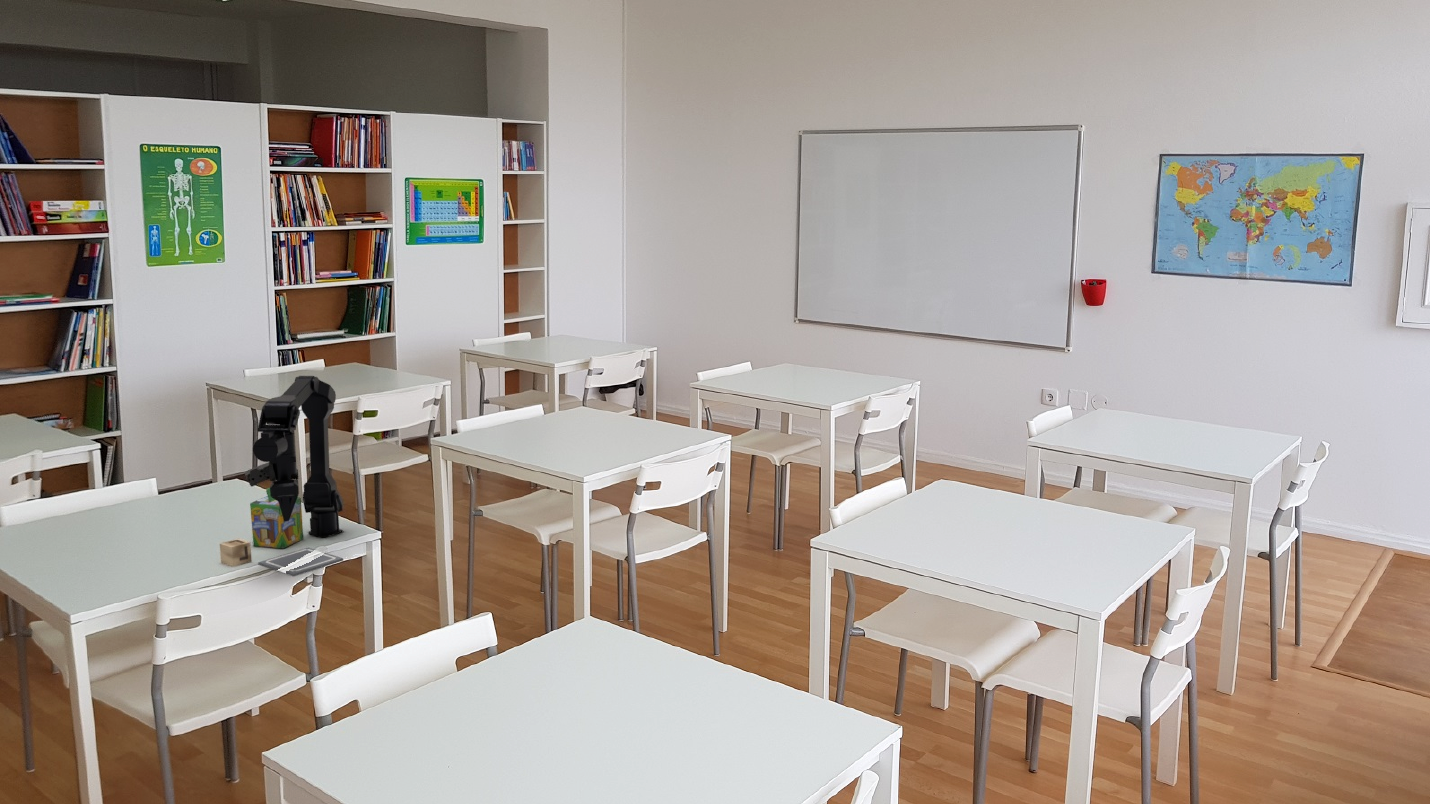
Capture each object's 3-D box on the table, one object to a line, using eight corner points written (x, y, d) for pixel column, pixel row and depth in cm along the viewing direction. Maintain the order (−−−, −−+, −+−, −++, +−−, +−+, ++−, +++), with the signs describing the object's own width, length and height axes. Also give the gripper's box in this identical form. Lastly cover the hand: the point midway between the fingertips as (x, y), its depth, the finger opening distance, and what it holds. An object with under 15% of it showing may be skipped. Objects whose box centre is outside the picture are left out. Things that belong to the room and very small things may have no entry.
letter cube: (240, 557, 274) (238, 538, 273) (252, 561, 271) (250, 541, 270) (221, 563, 270) (219, 543, 269) (233, 567, 267) (231, 547, 266)
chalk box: (283, 549, 280) (279, 493, 277) (251, 546, 282) (247, 490, 280) (305, 538, 289) (301, 484, 286) (274, 535, 291) (270, 481, 288)
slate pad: (308, 549, 280) (308, 547, 280) (343, 560, 272) (343, 557, 272) (258, 564, 269) (258, 561, 269) (293, 576, 261) (293, 573, 261)
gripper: (247, 446, 269) (251, 509, 272) (244, 463, 252) (248, 529, 255) (296, 443, 273) (300, 505, 276) (296, 459, 256) (300, 525, 258)
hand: (286, 516), depth 266 cm, fingers open, 9 cm apart
